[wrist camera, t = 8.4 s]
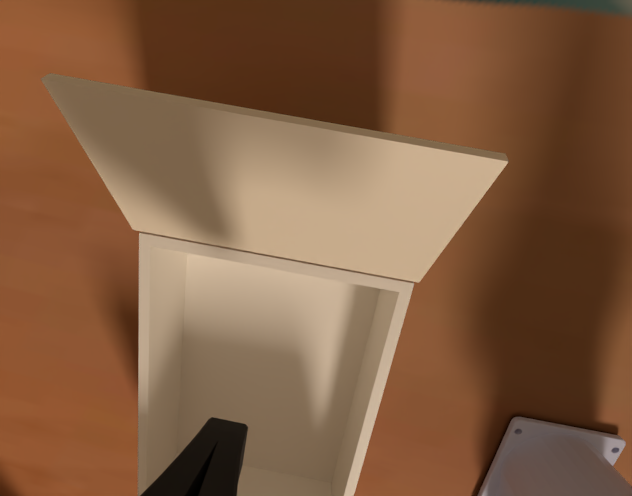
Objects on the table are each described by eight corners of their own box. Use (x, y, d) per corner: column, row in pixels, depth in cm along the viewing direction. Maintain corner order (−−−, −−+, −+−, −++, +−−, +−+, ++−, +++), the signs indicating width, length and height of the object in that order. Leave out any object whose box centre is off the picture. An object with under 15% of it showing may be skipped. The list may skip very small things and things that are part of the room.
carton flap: (508, 161, 9) (505, 153, 9) (40, 78, 9) (49, 73, 9) (418, 282, 14) (418, 275, 14) (133, 229, 14) (137, 223, 15)
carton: (337, 483, 24) (337, 551, 20) (172, 450, 24) (137, 511, 20) (396, 256, 19) (414, 283, 14) (183, 217, 19) (139, 232, 15)
